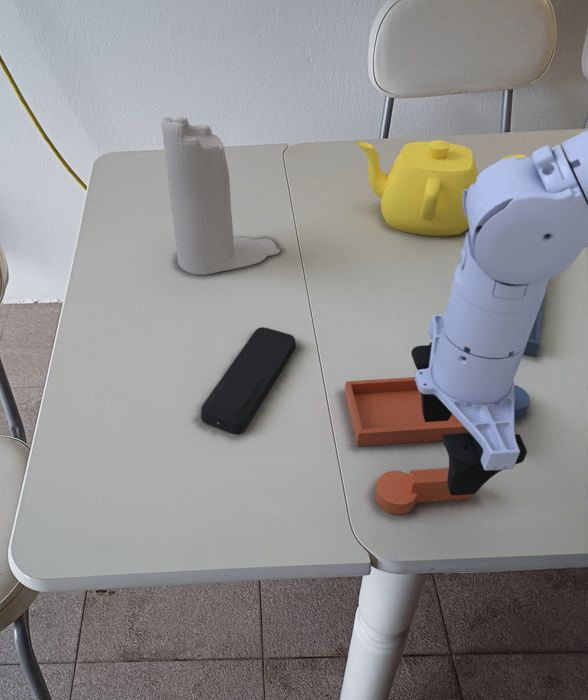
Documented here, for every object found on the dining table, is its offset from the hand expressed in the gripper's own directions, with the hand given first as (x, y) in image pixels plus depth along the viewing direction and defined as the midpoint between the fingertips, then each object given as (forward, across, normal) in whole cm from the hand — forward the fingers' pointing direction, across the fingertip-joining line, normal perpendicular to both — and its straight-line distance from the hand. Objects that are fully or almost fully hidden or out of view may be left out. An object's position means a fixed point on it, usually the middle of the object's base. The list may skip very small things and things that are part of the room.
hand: (447, 453), depth 54 cm
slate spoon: (+6, -8, +9) cm, 13 cm away
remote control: (+6, -16, -16) cm, 23 cm away
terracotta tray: (+6, -9, -1) cm, 11 cm away
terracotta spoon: (+6, 0, -1) cm, 6 cm away
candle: (+6, -40, -17) cm, 44 cm away
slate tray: (+6, -29, +18) cm, 35 cm away
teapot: (+6, -46, +11) cm, 47 cm away
